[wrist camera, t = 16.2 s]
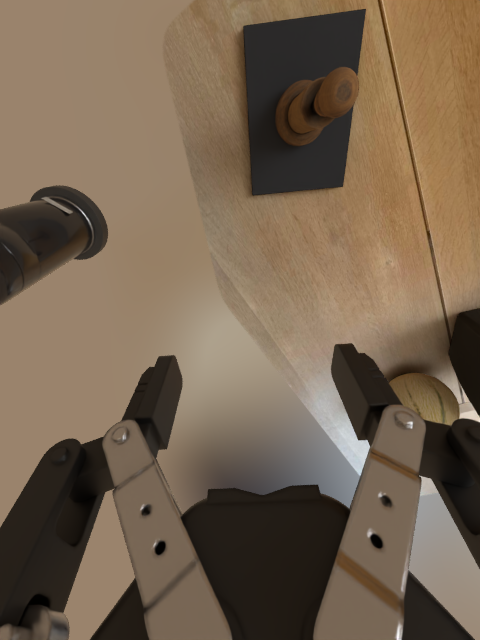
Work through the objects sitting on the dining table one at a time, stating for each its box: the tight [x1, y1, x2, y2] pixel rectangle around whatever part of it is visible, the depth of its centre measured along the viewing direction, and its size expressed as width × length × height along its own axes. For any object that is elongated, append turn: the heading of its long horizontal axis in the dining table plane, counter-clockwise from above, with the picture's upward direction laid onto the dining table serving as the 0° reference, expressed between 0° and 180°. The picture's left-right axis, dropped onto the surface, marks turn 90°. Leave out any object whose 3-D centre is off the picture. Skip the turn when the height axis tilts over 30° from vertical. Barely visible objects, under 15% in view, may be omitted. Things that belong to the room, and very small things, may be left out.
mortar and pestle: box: [275, 67, 359, 146], centre depth 26 cm, size 7×6×18 cm
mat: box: [243, 9, 366, 195], centre depth 34 cm, size 14×18×1 cm
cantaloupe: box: [389, 373, 460, 425], centre depth 58 cm, size 15×15×15 cm
